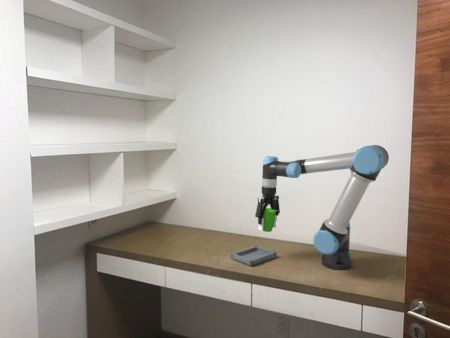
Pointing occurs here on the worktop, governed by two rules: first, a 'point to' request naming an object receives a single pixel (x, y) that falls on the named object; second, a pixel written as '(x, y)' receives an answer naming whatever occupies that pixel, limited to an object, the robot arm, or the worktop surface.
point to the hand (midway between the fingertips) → (267, 228)
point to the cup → (268, 219)
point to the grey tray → (253, 256)
